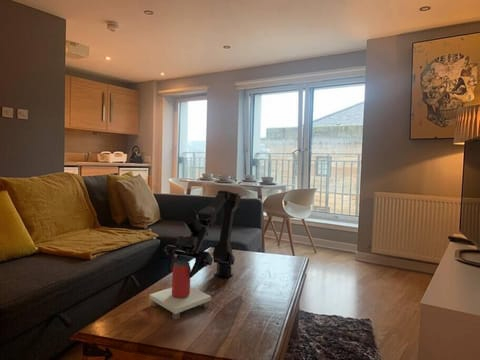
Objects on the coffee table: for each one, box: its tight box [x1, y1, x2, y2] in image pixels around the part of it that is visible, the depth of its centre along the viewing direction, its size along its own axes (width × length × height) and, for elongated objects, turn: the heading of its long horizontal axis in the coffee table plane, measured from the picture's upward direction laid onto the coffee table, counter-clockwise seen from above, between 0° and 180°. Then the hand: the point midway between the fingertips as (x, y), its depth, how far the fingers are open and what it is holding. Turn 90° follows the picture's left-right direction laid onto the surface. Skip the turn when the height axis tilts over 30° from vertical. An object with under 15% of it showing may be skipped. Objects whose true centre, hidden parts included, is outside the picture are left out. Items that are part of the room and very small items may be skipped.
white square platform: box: [148, 285, 212, 320], centre depth 122 cm, size 16×16×4 cm
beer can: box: [171, 260, 192, 298], centre depth 121 cm, size 7×7×12 cm
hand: (178, 275), depth 120 cm, fingers open, 9 cm apart
